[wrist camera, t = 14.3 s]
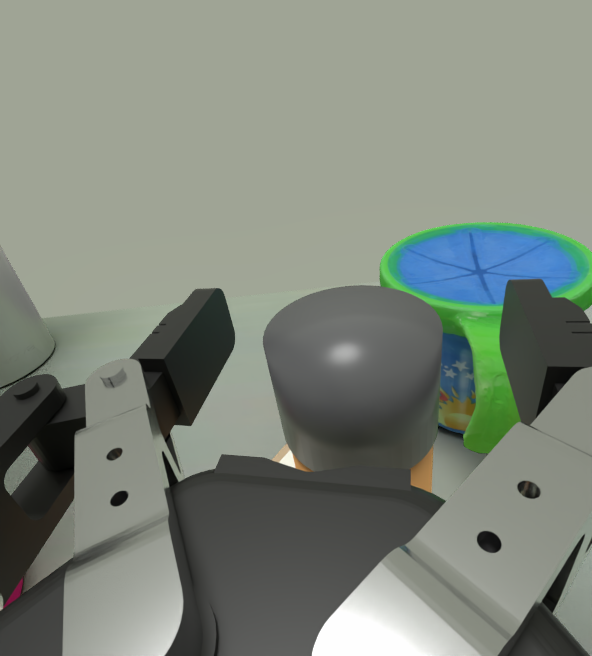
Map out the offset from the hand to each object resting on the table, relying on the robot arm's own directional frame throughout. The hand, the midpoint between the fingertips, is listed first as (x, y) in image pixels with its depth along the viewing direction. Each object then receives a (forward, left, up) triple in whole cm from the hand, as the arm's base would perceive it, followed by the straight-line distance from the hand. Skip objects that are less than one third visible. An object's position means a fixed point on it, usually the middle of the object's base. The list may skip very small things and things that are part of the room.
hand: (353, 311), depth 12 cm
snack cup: (0, +13, -14) cm, 19 cm away
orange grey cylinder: (+1, -2, -13) cm, 13 cm away
